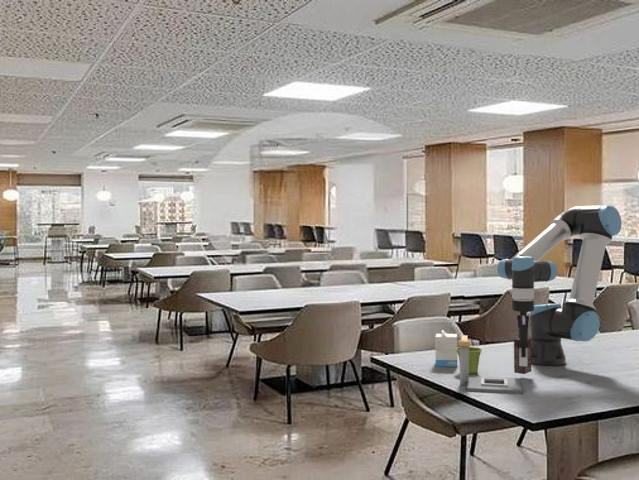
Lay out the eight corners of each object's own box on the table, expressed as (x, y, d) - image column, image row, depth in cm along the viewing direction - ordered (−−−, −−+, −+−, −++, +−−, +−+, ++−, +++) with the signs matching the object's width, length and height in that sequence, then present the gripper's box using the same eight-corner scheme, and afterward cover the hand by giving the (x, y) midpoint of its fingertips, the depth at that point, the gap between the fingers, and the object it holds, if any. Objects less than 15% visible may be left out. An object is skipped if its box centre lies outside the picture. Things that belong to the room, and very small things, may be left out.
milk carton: (457, 367, 263) (457, 332, 263) (435, 366, 265) (435, 332, 265) (457, 362, 272) (457, 329, 272) (436, 362, 274) (435, 328, 273)
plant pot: (467, 376, 248) (467, 352, 248) (451, 371, 257) (450, 348, 256) (487, 373, 253) (487, 349, 252) (470, 368, 261) (470, 345, 261)
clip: (459, 339, 247) (459, 335, 247) (470, 339, 246) (470, 335, 246) (458, 346, 234) (458, 341, 234) (470, 346, 233) (470, 342, 233)
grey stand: (520, 381, 240) (520, 343, 239) (522, 393, 222) (522, 353, 222) (460, 378, 245) (460, 341, 244) (458, 390, 227) (458, 351, 227)
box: (519, 370, 248) (520, 337, 248) (531, 371, 245) (532, 338, 245) (512, 372, 243) (513, 339, 243) (524, 374, 240) (525, 340, 240)
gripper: (511, 296, 254) (511, 358, 255) (512, 302, 235) (512, 369, 235) (532, 297, 252) (532, 358, 253) (535, 303, 233) (535, 370, 234)
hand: (522, 363), depth 244 cm, fingers closed on box, 7 cm apart
